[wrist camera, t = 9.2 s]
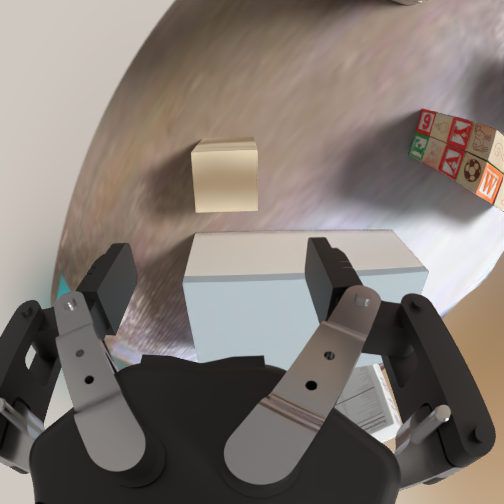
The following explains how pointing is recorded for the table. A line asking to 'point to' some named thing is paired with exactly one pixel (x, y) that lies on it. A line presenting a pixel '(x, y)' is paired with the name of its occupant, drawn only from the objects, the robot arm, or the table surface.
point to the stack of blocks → (462, 153)
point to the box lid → (273, 312)
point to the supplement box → (370, 403)
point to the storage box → (292, 251)
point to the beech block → (225, 174)
